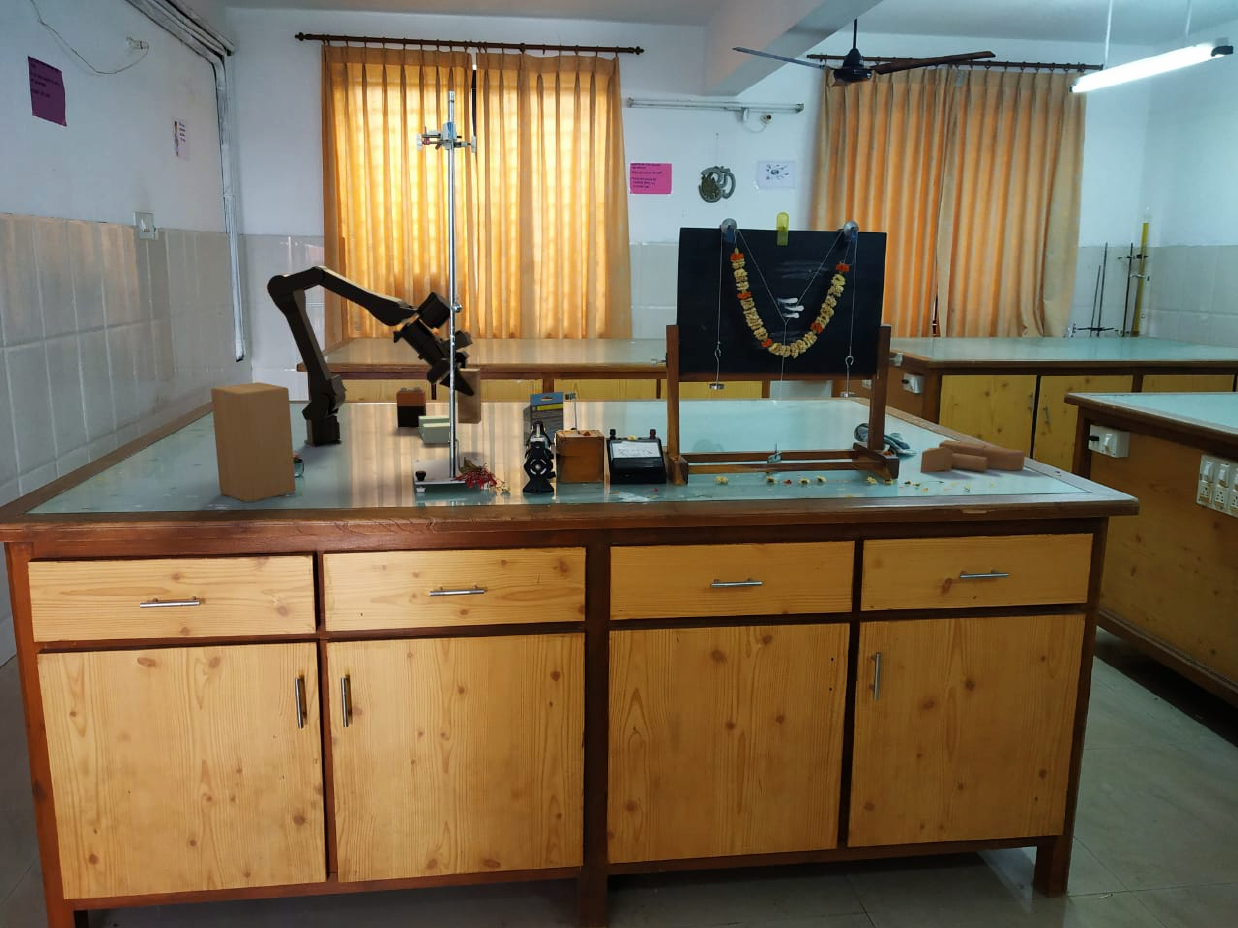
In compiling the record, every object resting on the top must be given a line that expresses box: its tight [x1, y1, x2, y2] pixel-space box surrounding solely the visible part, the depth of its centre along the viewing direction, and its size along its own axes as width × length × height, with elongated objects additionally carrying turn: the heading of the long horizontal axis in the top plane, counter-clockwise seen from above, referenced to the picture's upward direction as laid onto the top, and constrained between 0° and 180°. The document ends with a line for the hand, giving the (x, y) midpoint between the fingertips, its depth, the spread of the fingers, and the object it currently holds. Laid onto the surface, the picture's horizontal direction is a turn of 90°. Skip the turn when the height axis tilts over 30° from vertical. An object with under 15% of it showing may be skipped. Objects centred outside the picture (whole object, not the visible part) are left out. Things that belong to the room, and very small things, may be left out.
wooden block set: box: [919, 439, 1026, 473], centre depth 201 cm, size 17×6×18 cm
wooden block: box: [210, 381, 296, 503], centre depth 175 cm, size 10×10×20 cm
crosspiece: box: [418, 414, 451, 445], centre depth 228 cm, size 14×7×4 cm, turn 17°
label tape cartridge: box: [522, 391, 565, 445], centre depth 221 cm, size 9×4×12 cm, turn 123°
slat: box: [456, 367, 482, 425], centre depth 216 cm, size 4×4×12 cm
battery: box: [395, 386, 427, 428], centre depth 240 cm, size 4×7×10 cm, turn 94°
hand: (475, 393), depth 215 cm, fingers closed on slat, 4 cm apart
